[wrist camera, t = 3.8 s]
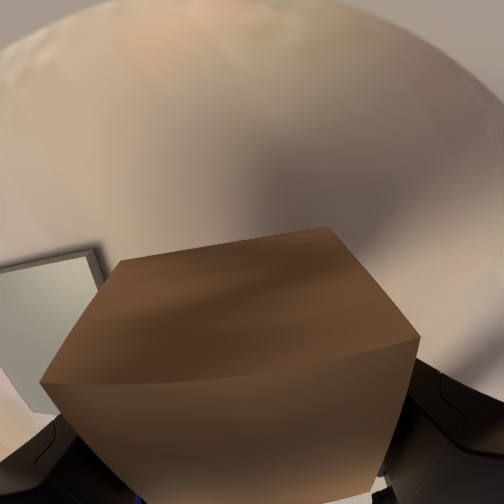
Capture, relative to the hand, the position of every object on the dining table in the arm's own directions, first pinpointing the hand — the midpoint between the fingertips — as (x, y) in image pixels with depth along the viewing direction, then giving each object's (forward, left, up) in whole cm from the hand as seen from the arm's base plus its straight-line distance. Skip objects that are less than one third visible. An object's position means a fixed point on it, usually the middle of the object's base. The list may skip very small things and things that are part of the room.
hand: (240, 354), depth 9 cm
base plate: (+13, +4, -7) cm, 15 cm away
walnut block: (0, 0, -1) cm, 1 cm away
